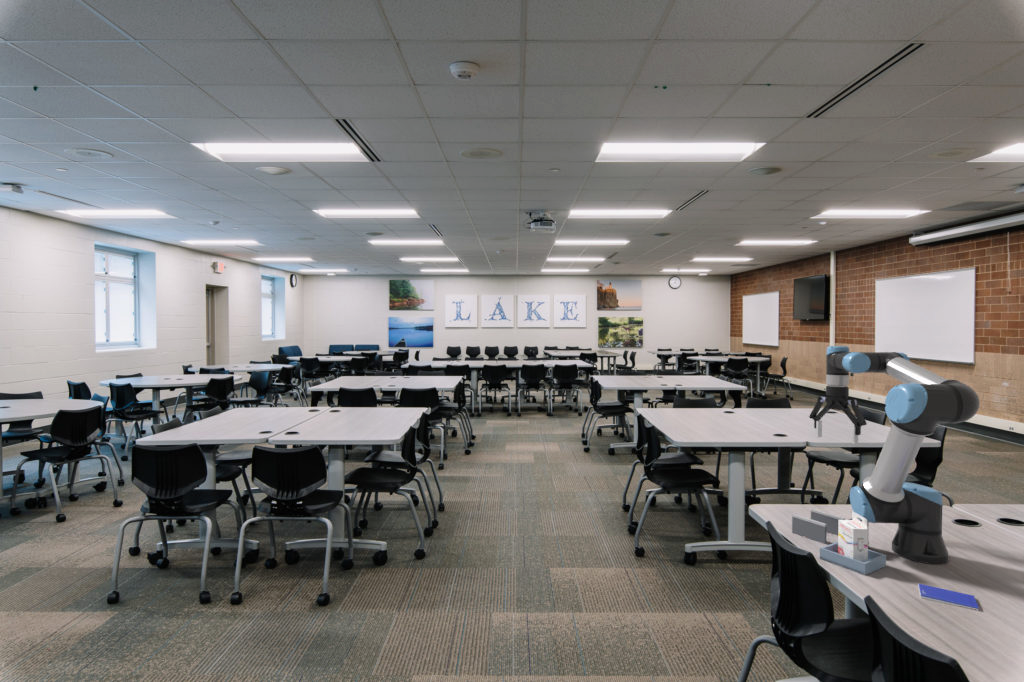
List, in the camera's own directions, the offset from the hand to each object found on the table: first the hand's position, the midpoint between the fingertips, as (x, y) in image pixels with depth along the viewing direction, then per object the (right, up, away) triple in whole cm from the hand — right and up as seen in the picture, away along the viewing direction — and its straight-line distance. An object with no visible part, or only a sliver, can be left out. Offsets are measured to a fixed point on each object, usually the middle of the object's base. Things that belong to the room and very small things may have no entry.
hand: (836, 440), depth 205 cm
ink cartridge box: (-16, -33, -34) cm, 50 cm away
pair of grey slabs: (-13, -33, -11) cm, 37 cm away
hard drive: (-4, -35, -57) cm, 67 cm away
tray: (-16, -33, -34) cm, 50 cm away
